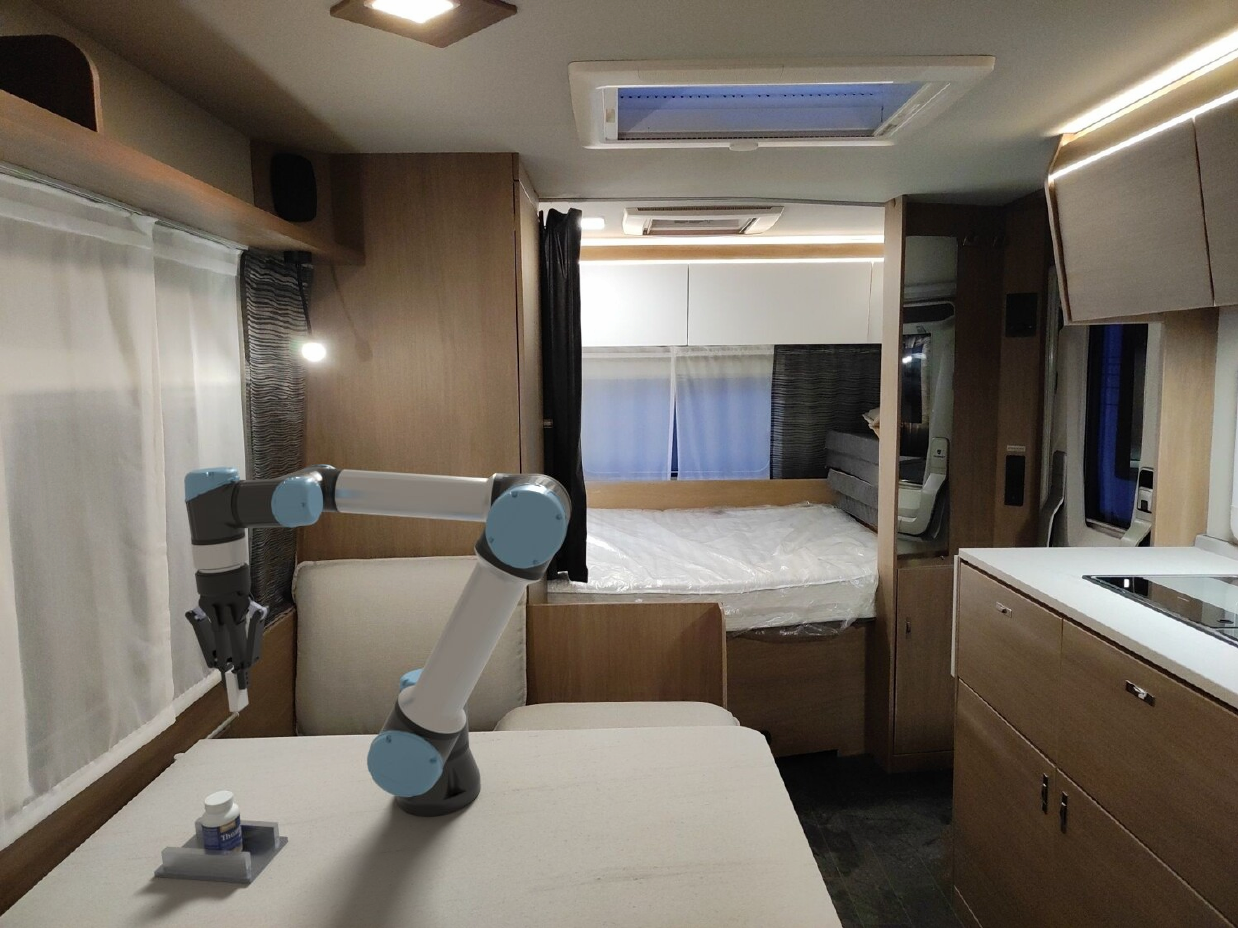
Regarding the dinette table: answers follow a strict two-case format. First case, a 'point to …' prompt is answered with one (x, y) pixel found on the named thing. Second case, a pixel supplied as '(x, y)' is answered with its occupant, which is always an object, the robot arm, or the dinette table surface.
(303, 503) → the robot arm
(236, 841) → the pill bottle
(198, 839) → the rail channel
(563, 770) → the dinette table surface
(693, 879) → the dinette table surface
